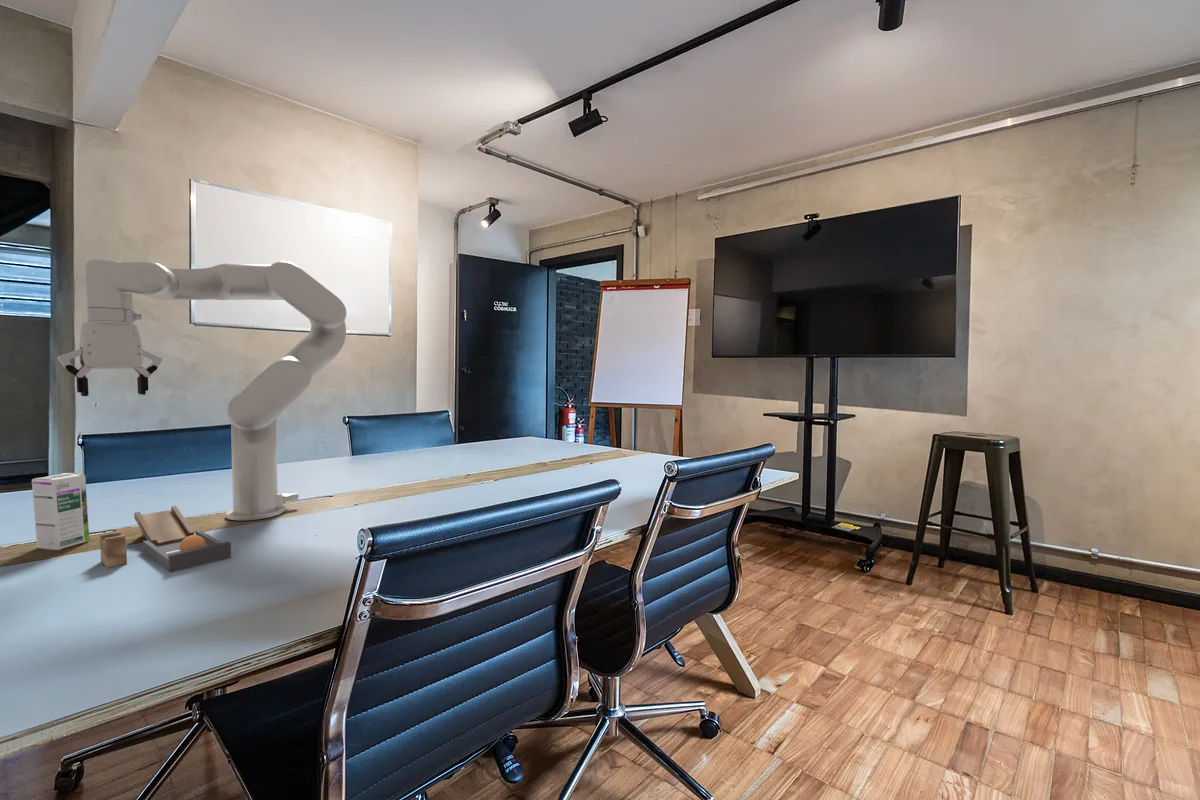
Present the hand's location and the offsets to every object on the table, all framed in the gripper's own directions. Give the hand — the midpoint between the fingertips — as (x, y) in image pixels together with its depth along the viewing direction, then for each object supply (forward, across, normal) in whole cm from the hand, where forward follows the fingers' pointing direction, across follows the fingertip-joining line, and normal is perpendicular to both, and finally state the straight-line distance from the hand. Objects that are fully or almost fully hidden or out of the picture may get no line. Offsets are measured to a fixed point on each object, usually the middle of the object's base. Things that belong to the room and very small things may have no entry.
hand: (114, 395), depth 120 cm
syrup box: (+31, +10, +5) cm, 32 cm away
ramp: (+30, -4, +16) cm, 34 cm away
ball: (+28, -4, +34) cm, 44 cm away
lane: (+30, -4, +30) cm, 42 cm away
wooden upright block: (+30, +6, +25) cm, 40 cm away
